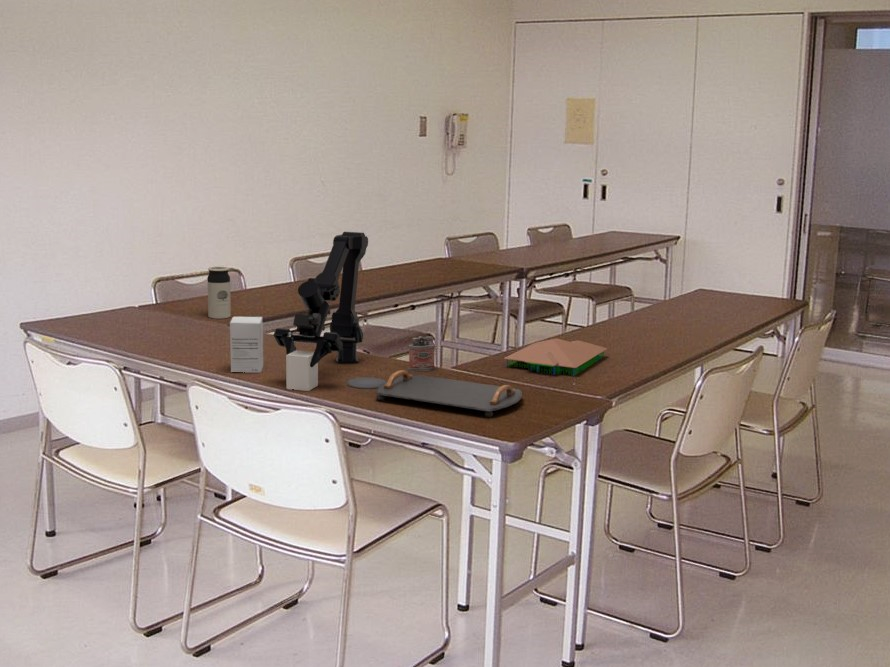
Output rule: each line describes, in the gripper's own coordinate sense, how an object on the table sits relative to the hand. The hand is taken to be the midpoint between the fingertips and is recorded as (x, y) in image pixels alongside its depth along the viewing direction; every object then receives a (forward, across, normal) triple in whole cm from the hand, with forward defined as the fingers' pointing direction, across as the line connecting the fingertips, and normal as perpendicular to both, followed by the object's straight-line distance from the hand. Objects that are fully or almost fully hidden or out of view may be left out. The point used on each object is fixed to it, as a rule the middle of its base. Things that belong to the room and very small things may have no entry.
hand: (299, 365), depth 288 cm
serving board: (+2, +42, +8) cm, 42 cm away
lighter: (-19, +25, +28) cm, 42 cm away
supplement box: (-6, -23, +15) cm, 28 cm away
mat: (-4, +15, +13) cm, 20 cm away
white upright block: (+3, 0, +6) cm, 7 cm away
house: (-35, +60, +45) cm, 83 cm away
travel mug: (-53, -68, +63) cm, 107 cm away
